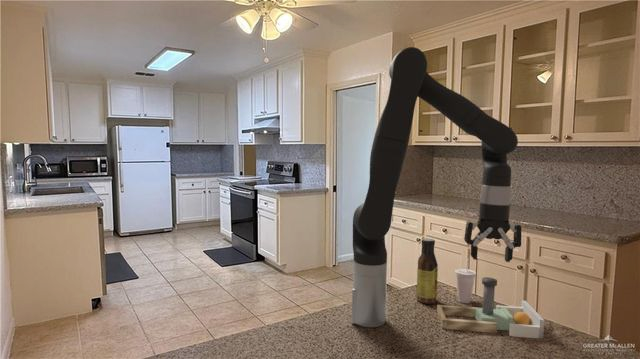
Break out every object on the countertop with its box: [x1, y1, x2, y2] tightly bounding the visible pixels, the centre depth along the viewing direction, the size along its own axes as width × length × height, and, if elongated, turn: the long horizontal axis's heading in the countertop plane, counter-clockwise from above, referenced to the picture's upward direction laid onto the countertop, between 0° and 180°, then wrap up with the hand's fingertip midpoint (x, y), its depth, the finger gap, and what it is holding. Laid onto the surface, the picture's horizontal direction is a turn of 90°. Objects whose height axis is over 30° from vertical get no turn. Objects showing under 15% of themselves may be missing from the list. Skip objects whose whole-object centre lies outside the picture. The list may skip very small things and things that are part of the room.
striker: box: [474, 277, 514, 331], centre depth 109 cm, size 8×7×13 cm
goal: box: [495, 300, 545, 339], centre depth 108 cm, size 8×13×5 cm, turn 172°
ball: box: [513, 312, 530, 325], centre depth 108 cm, size 4×4×4 cm
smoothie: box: [454, 257, 477, 304], centre depth 125 cm, size 6×6×14 cm
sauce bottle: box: [416, 238, 439, 305], centre depth 125 cm, size 7×6×20 cm
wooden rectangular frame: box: [436, 304, 498, 334], centre depth 111 cm, size 14×10×2 cm
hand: (490, 260), depth 108 cm, fingers open, 8 cm apart
